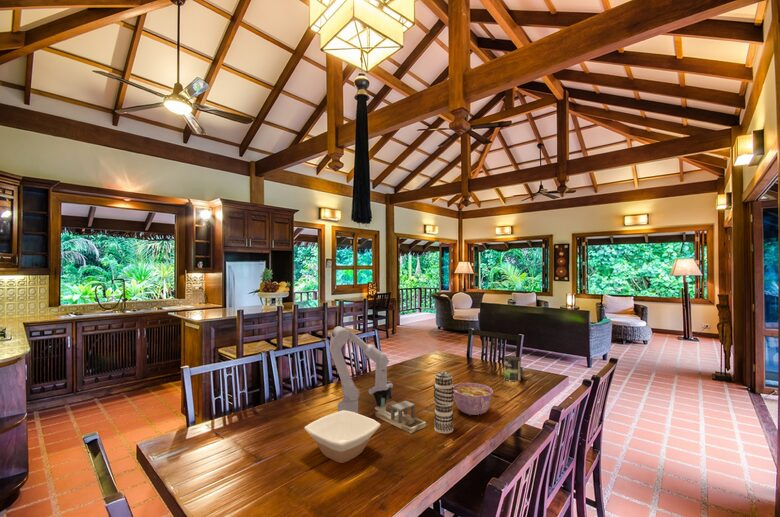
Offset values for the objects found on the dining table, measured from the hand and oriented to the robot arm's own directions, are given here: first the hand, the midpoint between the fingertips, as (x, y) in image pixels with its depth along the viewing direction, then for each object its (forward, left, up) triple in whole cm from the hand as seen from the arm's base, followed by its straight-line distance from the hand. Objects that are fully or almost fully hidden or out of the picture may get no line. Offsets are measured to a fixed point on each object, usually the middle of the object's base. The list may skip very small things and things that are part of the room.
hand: (381, 405), depth 177 cm
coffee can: (+97, -18, -4) cm, 99 cm away
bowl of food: (+34, -31, -4) cm, 46 cm away
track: (0, -14, -4) cm, 14 cm away
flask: (+15, +15, -4) cm, 22 cm away
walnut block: (0, -8, -1) cm, 8 cm away
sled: (0, -6, -1) cm, 6 cm away
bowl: (-36, -19, -4) cm, 41 cm away
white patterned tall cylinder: (+9, -33, -4) cm, 34 cm away
